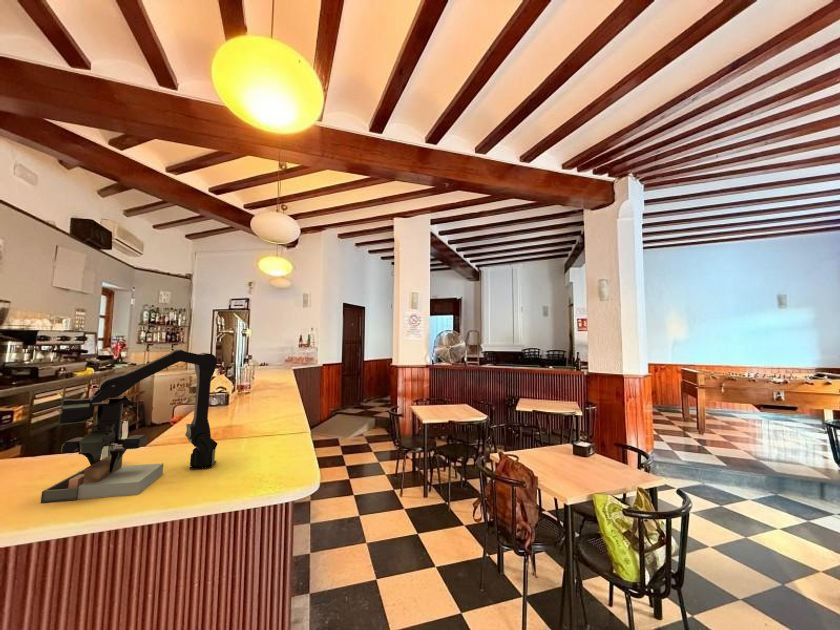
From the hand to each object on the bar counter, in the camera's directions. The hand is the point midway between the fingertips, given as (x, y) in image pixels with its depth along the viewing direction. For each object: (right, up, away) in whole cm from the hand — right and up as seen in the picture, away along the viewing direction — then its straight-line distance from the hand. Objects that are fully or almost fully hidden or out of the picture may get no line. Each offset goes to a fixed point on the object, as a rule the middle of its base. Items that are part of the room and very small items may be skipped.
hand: (103, 472), depth 99 cm
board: (+5, -4, +1) cm, 7 cm away
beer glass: (-11, -5, +14) cm, 19 cm away
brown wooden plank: (0, -1, 0) cm, 1 cm away
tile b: (-2, -1, -4) cm, 5 cm away
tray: (-5, -4, -2) cm, 7 cm away
